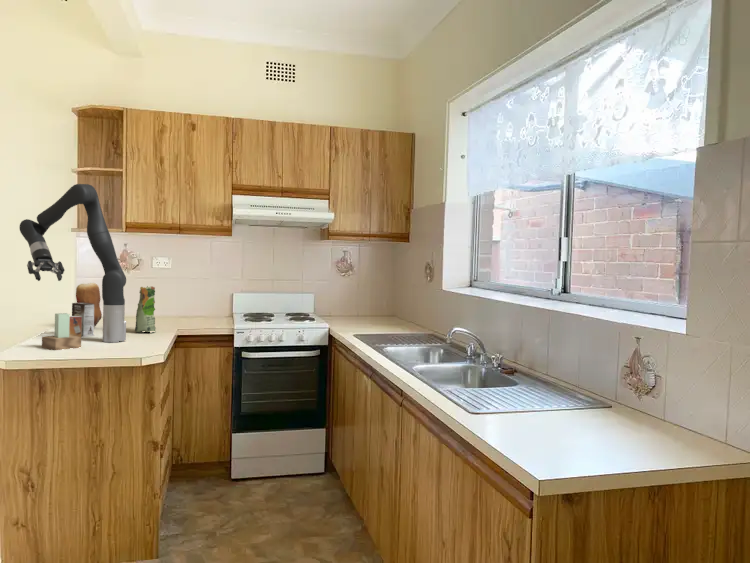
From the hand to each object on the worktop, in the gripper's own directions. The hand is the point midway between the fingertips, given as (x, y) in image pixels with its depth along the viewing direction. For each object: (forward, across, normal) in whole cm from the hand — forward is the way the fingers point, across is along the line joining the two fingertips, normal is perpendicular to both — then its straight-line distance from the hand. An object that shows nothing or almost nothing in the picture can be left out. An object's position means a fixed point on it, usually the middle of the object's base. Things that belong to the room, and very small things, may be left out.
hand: (49, 279), depth 262 cm
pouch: (+11, +52, +30) cm, 61 cm away
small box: (+11, +15, +30) cm, 35 cm away
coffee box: (+5, +23, +36) cm, 43 cm away
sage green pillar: (+28, 0, +6) cm, 28 cm away
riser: (+31, 0, +10) cm, 33 cm away
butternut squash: (-12, +36, +53) cm, 65 cm away
